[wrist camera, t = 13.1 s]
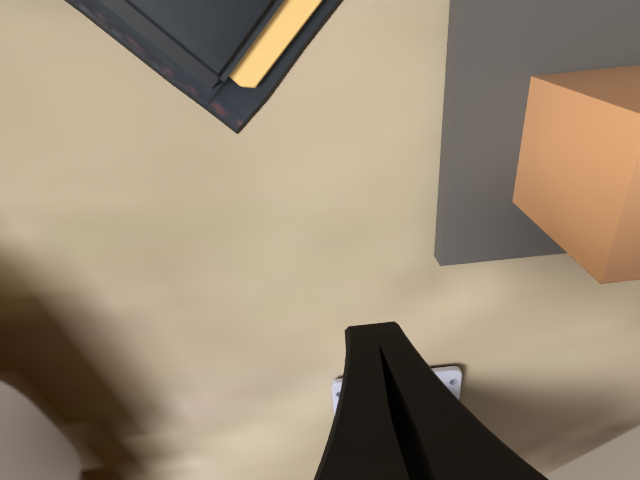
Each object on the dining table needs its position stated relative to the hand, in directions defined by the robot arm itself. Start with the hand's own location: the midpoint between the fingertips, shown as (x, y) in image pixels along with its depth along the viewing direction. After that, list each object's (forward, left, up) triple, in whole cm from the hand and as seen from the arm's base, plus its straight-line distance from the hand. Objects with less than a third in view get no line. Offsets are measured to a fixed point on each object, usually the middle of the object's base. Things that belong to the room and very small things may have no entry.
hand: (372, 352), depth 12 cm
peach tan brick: (+2, -11, -9) cm, 15 cm away
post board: (+2, -11, -10) cm, 15 cm away
